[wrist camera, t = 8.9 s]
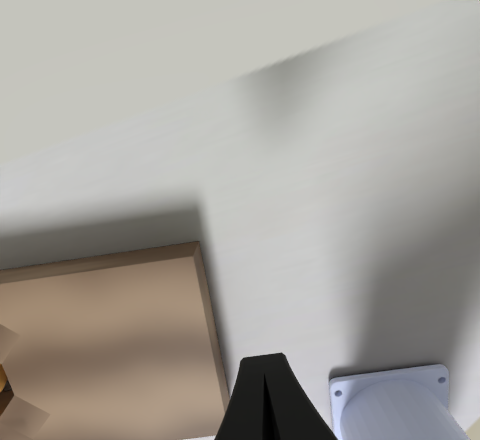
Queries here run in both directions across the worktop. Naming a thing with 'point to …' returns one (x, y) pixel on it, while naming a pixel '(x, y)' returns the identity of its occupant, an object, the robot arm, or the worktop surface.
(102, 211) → the worktop surface
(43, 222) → the worktop surface
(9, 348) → the hole board
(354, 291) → the worktop surface
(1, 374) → the ball
